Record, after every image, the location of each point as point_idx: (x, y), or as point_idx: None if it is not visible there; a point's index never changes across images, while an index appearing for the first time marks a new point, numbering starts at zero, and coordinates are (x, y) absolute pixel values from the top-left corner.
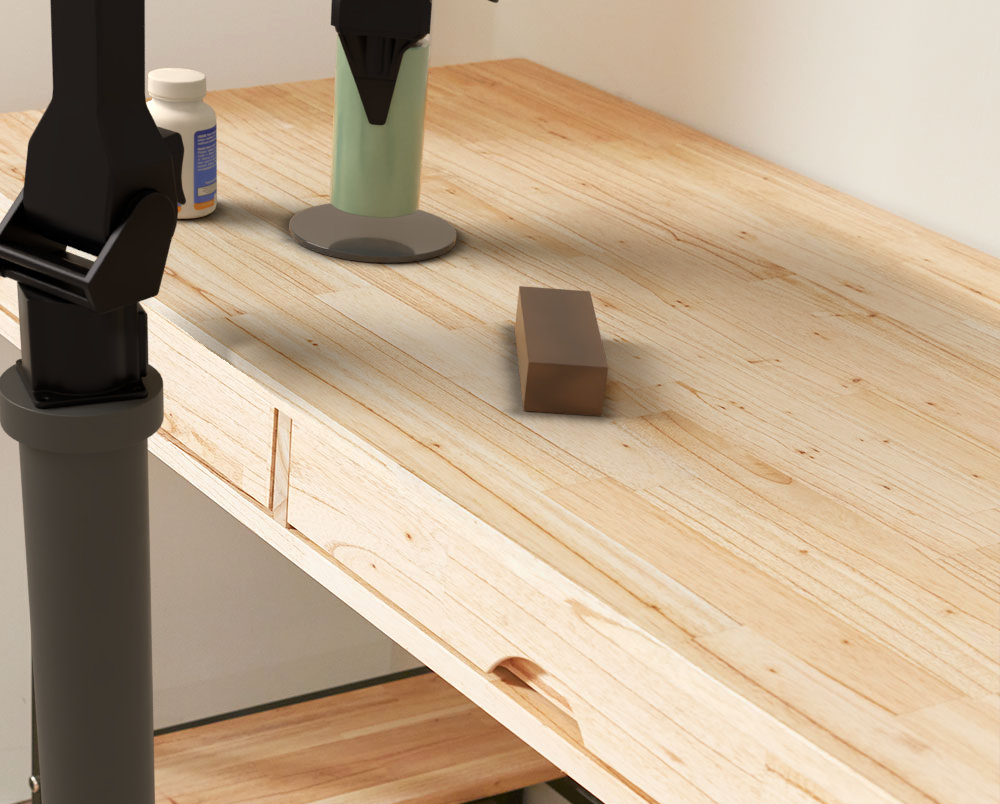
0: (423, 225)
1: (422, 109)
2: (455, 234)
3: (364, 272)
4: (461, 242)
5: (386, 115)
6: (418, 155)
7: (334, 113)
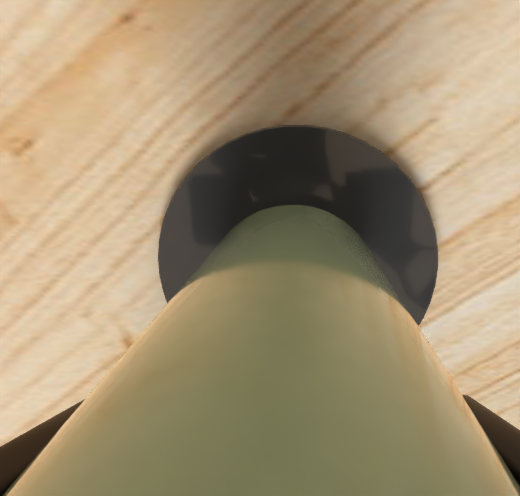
0: (256, 188)
1: (351, 286)
2: (292, 126)
3: (480, 272)
4: (293, 114)
5: (495, 415)
6: (339, 241)
7: None
